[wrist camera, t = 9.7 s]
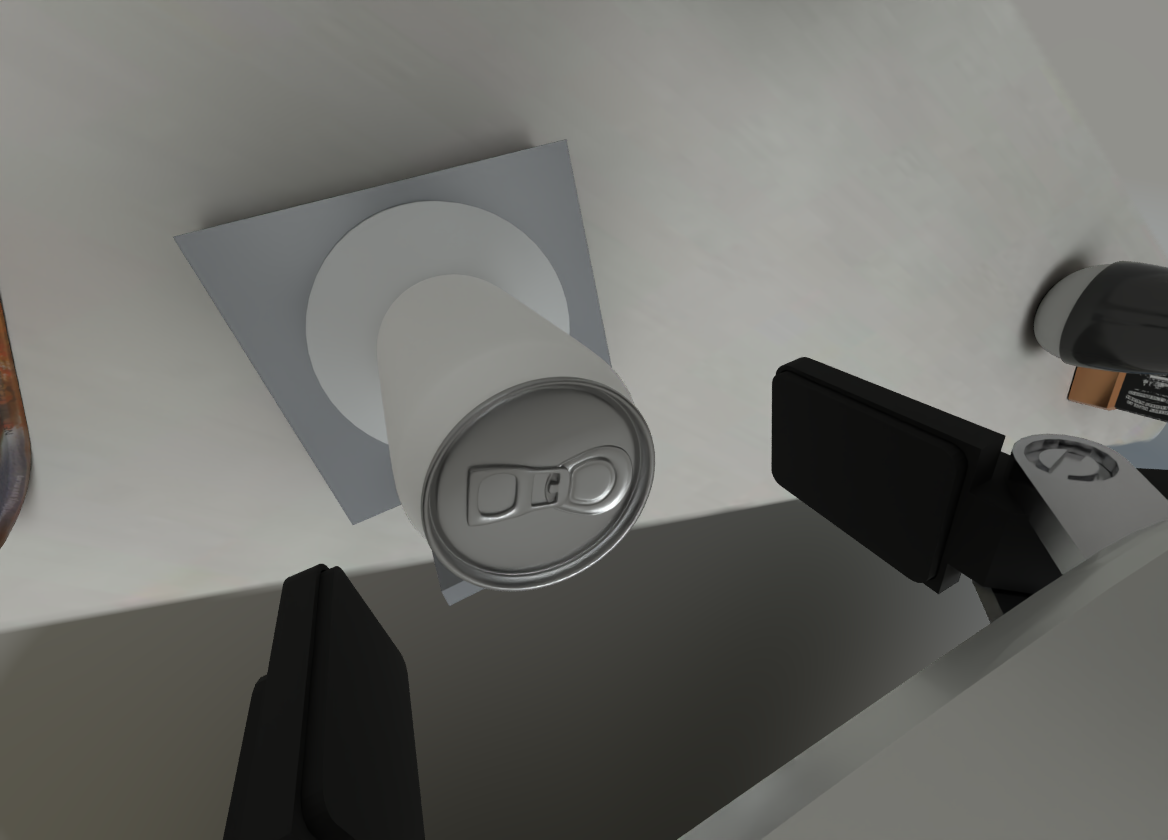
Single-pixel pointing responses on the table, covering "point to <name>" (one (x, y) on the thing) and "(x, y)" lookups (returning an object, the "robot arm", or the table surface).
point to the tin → (11, 440)
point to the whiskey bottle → (1122, 392)
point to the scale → (390, 295)
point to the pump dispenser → (1108, 318)
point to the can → (507, 436)
